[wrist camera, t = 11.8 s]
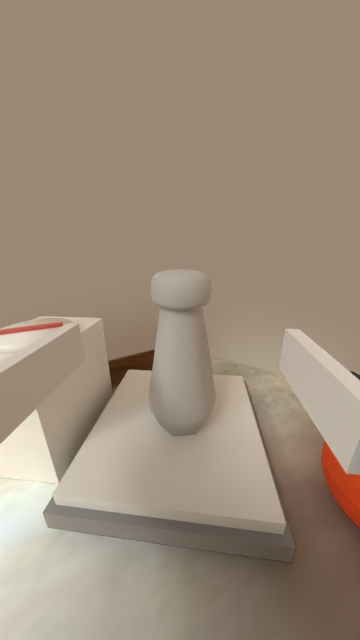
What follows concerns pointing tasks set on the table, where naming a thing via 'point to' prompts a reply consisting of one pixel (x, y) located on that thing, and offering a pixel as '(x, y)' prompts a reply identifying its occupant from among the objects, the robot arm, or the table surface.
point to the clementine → (342, 485)
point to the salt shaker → (181, 353)
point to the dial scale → (145, 459)
